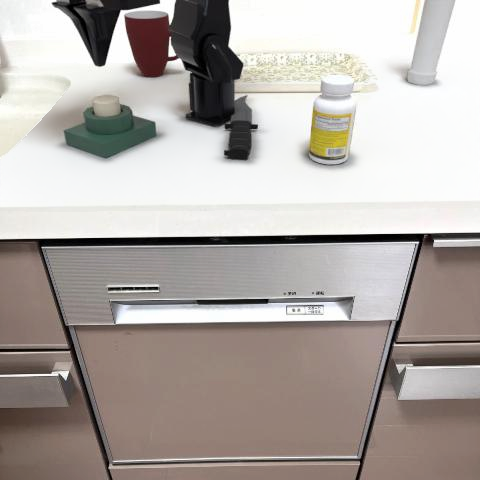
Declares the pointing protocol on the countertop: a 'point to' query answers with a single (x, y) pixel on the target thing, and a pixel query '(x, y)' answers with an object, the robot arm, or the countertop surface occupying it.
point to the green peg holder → (109, 132)
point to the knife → (240, 131)
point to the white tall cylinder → (430, 40)
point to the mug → (149, 40)
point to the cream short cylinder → (106, 105)
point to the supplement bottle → (333, 120)
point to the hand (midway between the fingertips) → (100, 65)
